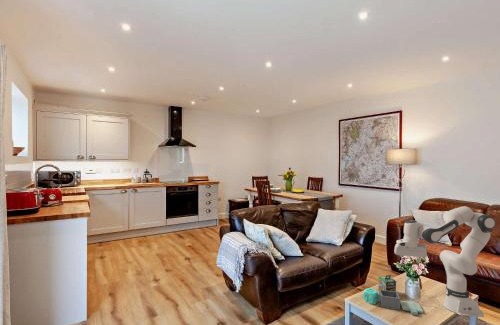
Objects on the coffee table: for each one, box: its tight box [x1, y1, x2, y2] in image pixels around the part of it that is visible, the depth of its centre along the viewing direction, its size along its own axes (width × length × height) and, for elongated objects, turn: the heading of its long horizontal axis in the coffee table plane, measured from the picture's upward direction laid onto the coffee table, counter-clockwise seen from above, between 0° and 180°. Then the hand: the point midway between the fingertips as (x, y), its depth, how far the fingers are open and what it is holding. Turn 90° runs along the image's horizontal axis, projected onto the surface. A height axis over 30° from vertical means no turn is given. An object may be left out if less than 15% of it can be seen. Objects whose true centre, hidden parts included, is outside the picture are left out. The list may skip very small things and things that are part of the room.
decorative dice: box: [362, 287, 379, 305], centre depth 201 cm, size 8×8×8 cm
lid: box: [400, 300, 424, 316], centre depth 190 cm, size 13×15×3 cm
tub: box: [378, 288, 401, 311], centre depth 196 cm, size 12×10×8 cm
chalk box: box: [378, 274, 397, 292], centre depth 213 cm, size 9×9×15 cm
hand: (410, 261), depth 194 cm, fingers open, 8 cm apart
